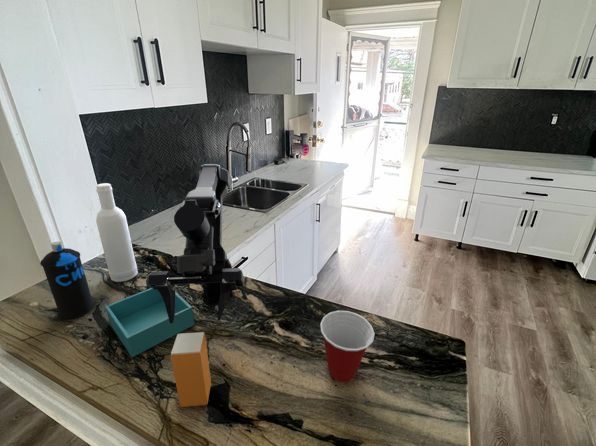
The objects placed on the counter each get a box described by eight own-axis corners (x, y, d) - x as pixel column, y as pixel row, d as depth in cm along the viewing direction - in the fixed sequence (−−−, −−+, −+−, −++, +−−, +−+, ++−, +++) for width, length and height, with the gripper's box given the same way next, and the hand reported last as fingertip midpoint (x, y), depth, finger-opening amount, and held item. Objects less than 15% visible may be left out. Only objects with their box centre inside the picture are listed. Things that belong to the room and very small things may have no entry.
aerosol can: (51, 314, 83) (26, 247, 75) (81, 297, 90) (61, 233, 82) (72, 323, 80) (49, 253, 72) (101, 304, 87) (83, 239, 79)
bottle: (105, 282, 97) (80, 188, 85) (118, 268, 104) (97, 180, 92) (131, 282, 97) (110, 188, 85) (142, 269, 104) (124, 181, 92)
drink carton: (186, 384, 64) (177, 333, 59) (211, 382, 64) (204, 331, 59) (180, 407, 59) (170, 354, 54) (207, 404, 60) (199, 351, 55)
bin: (168, 298, 90) (165, 282, 87) (194, 324, 80) (192, 307, 78) (109, 324, 80) (104, 306, 77) (131, 357, 70) (127, 338, 68)
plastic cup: (357, 403, 60) (363, 356, 56) (308, 377, 66) (310, 332, 61) (375, 365, 69) (382, 321, 64) (331, 345, 74) (334, 303, 69)
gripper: (140, 236, 60) (130, 321, 54) (239, 233, 62) (239, 314, 56) (159, 253, 70) (151, 326, 65) (243, 250, 72) (243, 320, 67)
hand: (195, 322), depth 63 cm, fingers open, 9 cm apart
